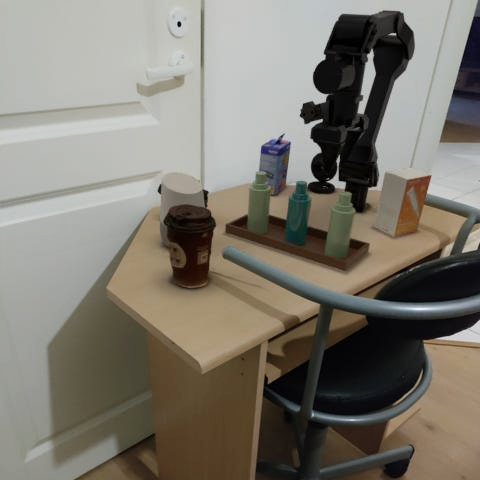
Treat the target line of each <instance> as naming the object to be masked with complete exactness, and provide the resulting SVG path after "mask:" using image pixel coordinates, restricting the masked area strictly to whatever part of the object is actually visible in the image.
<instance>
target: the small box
mask: <svg viewBox="0 0 480 480" xmlns="http://www.w3.org/2000/svg"><path fill="white" fill-rule="evenodd" d="M432 176H433V175H432V174H431V173H427V172H424V171H422V170H419V169H416V168H413V167H405V168H399V169H393V170H389V171H385V172H384V176H383V181H382V186H381V191H380V196H379V199H378V205H377V209H376V214H375V218H374V225H373V228H375V229H378V230H380V231H383V232H385V233H387V234H389V235H391V236H393V237H397V236H399V235H402V234H410V233H413V232H414V233H415V232H418V229H419V225H420V221H421V217H422V213H423V209H424V206H425V202H426V198H427V195H428V190H429V187H430V183H431V179H432Z"/></svg>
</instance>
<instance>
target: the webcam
mask: <svg viewBox="0 0 480 480" xmlns="http://www.w3.org/2000/svg"><path fill="white" fill-rule="evenodd" d="M337 161H338V160H337ZM337 161H336V163H335V165H334V167H333V169H332V171H331V173H330V174H325V172H324V165H323V159H322V153H321V152H318V153H316V154H315V155H314V156H313V157H312V160H311V162H310V171H311V174H312V176H313V177H314V178H315V179H316V180H314V181H310V182H309V183H307V189H308V191H310V192H312V193H315V194H331V193H334V192H335V190H336V187H335V185H334V184H333V183H331V182H330V181H332V180H333V179H334V178H335V177H336V176H337V173H338V167H339V165H338V162H337Z"/></svg>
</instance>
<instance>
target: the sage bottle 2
mask: <svg viewBox="0 0 480 480" xmlns="http://www.w3.org/2000/svg"><path fill="white" fill-rule="evenodd" d="M351 195H352V194H351V193H350V192H344V191H340V192H339V195H338V201H335V204H334V205H331V207H330V212H329V217H328V219H329V220H328V226H327V231H328V232H327V239H326V245H325V252H324V253H325V254H326V255H329V256H332V257H336V258H339V259H344V258H346V257H347V255H348V250H349V244H350V239H351V238H352V233H353V227H354V220H355V215H356V211H355V209H354V208H353V207H352V206H353V205H352V203H350V201H351Z"/></svg>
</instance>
